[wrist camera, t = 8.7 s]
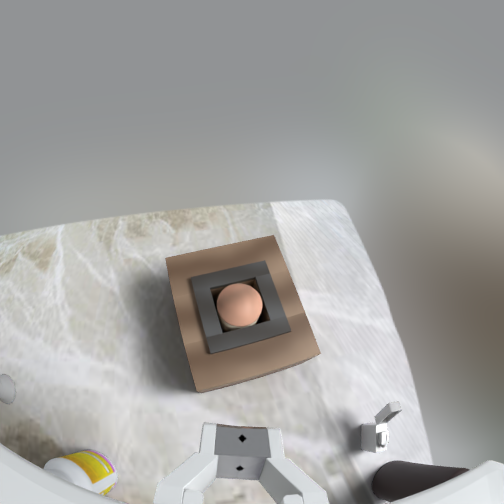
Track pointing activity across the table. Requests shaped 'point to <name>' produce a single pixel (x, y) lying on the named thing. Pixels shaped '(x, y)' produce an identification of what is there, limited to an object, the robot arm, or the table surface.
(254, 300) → the peg
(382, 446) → the lighter
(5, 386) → the chalice
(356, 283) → the table surface
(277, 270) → the block
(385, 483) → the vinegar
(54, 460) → the supplement bottle
